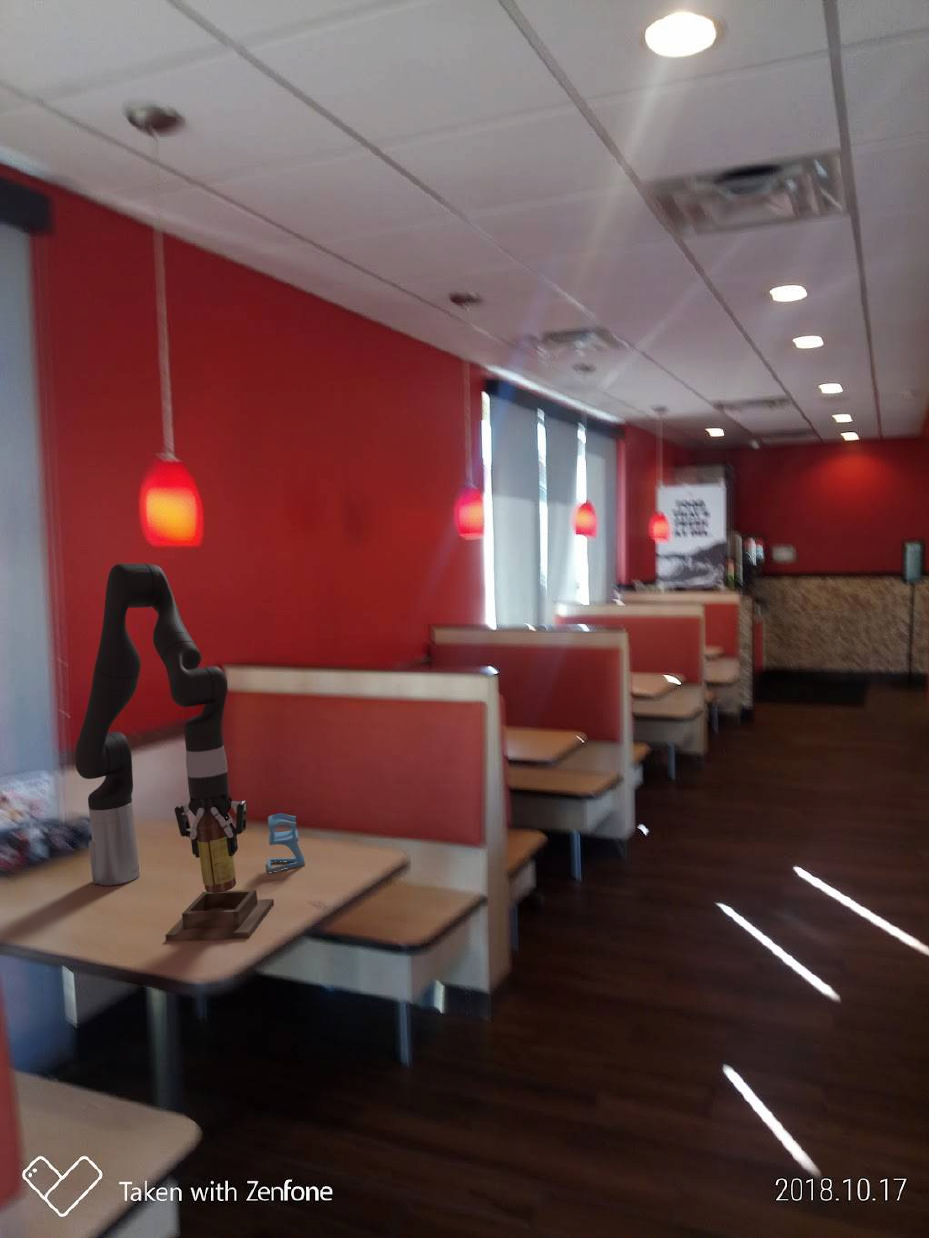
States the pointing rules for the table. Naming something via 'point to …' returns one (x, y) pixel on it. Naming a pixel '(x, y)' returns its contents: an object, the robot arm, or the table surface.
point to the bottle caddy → (221, 916)
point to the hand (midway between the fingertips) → (215, 855)
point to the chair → (284, 841)
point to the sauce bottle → (214, 852)
